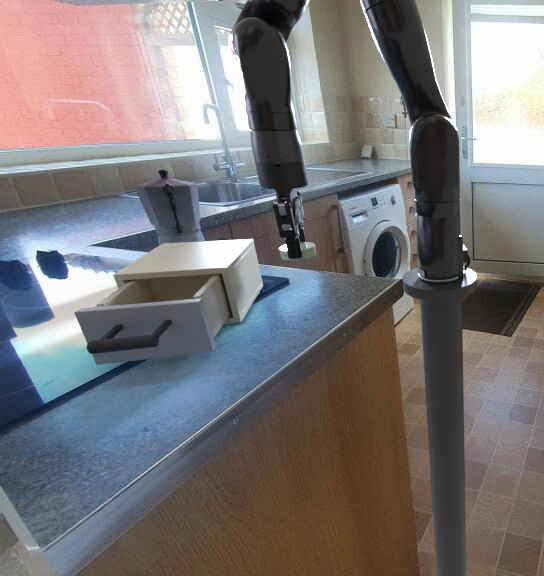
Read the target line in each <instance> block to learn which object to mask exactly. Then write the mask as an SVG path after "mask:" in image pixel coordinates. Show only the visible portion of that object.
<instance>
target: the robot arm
mask: <svg viewBox="0 0 544 576" xmlns="http://www.w3.org/2000/svg"><path fill="white" fill-rule="evenodd" d="M309 2H310V0H246V2H245V4H244V6H243V8H242V9H241V11H240V12H239V15H238V17H237V19H236V20H235V23H234V25H233V27H232V29H231V31H230V33H229V36H228V48H229V51H230V53H231V55H232V58H233V59H234V60H235V62H236V63H237V64H238V65H239V67H240V72H241V76H242V81H243V84H244V94H243V95H244V96H243V103H244V110H245V114H246V118H247V123H248V129H249V133H250V134H249V135H250V146H251V149H252V150H251V151H252V155H253V159H254V163H255V169H256V173H257V177H258V183H259V186H260V187H261V188H262V189H264V190H274V192H275V199H273V203H272V209H273V212H274V216H275V220H276V225H277V228H278V229H277V230H278V235H279V238H280V239H284V243H285V244H286V248H287V253H288V257H289V258H290V259H297V258H301V257H302V250H301V244H300V242H307V240H306V233H305V222H306V221H305V220H306V218H305V212H304V211H305V210H304V207H303V198H302V192H301V191H300V190H297V189H302V188H305V187H307V186H308V185H309V178H308V177H309V176H308V172H307V171H308V170H307V166H306V165H307V164H306V160H305V155H304V154H305V153H304V148H303V143H302V140H301V137H300V134H299V130H298V122H297V117H296V112H295V108H294V104H293V98H292V97H293V96H292V71H291V59H290V55H289V50H288V46H287V42H288V40H289V37H290V36H291V33H292V31H293V28H294V26H296V24H297V23H298V22H299V21H300V20H301V18H302V17H303V15H304V14H305V11H306V9H307V7H308V5H309ZM359 2H360V5H361V8H362V11H363V14H364V17H365V18H366V22H367V25H368V27H369V30H370V33H371V36H372V38H373V40H374V43H375V45H376V48H377V50H378V52H379V54H380V56H381V58H382V60H383V62H384V64H385V66H386V68H387V69H388V72H389V73H390V75H391V77H392V79H393V81H394V82H395V84H396V86H397V88H398V90H399V92H400V95H401V98H402V101H403V103H404V106H405V110H406V112H407V116H408V120H409V124H410V131H409V139H408V143H409V145H408V146H409V159H410V160H409V161H410V172H411V184H412V188H413V196H414V197H413V198H414V215H415V216H414V217H415V229H416V230H415V231H416V248H417V264H418V265H417V267H416V268H417V271H418V275H419V279H420V280H421V281H423V282H426V283H430V284H447V283H452V282H455V281H458V280H463V279H464V277H463V270H465V271H466V270H467V268H469V266H470V265H471V256H470V255H469V250H468V248H467V247H466V246H465V245H464V237H463V236H462V234H461V233H462V231H461V230H462V229H461V175H460V174H461V173H460V172H461V171H460V170H461V168H460V167H461V165H460V135H459V131H458V128H457V126H456V125H455V122H454V120H453V119H452V117H451V114H450V111H449V110H448V107H447V105H446V103H445V100H444V97H443V95H442V92H441V89H440V87H439V84H438V81H437V77H436V73H435V68H434V62H433V57H432V53H431V50H430V45H429V41H428V37H427V34H426V29H425V26H424V22H423V19H422V16H421V12H420V9H419V6H418V3H417V0H359ZM287 226H288V227H289V229H287ZM464 264H465V265H464ZM463 267H464V269H463Z"/></svg>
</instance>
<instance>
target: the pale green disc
mask: <svg viewBox="0 0 544 576" xmlns="http://www.w3.org/2000/svg"><path fill="white" fill-rule="evenodd" d="M300 244H301V250H302V257H301V258H297V259H290V258H289V257H288V253H287V248H286V243H285V244H283V245H281V246H280V247H279V248H278V252H279V257H280V259H282V260H283V261H288V262H289V261H292V262H293V261H303V260H307V259H311V258H313V257H315V256H317V248H316V247H317V246H316V244H315V243H314V242H311V241H306V242H300Z"/></svg>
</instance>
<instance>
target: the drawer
mask: <svg viewBox="0 0 544 576" xmlns="http://www.w3.org/2000/svg"><path fill="white" fill-rule="evenodd" d="M231 312H232V311H231V307H230V303H229V299H228V295H227V291H226V287H225V283H224V279H223V276H222V273H221V274H206V275H192V276H177V277H163V278H148V279H133V280H130V281H129V282H128V283H126V284H125V285H123V286H122V287H120V288H119V289H118V288H117V289H116V290H115V291H113V292H112V293H110V294H109V295H108V296H106V297H105V298H103V299H102V300H101V301H99V302H98V303H96V304H95V306H93V307H81V308H78V309H77V310H75V311H74V312H73V313H74V315H75V318H76V321H77V322H78V325H79V327H80V329H81V332H82V334H83V337H84V339H85V342H86V351H87V353H88V354H90V355H92V358H93V361H94V363H95V365H96V366H101V365H111V364H118V363H119V364H120V363H126V362H134V361H143V360H144V361H145V360H153V359H160V358H169V357H178V356H186V355H196V354H205V353H211V352H213V353H214V351H215V350H216V348H217V346H216V341H215V337H216V336H217V334H218V333H219V331H220V330H221V328H222V326H223V325H225V324H224V322H225V321H226V319H227V318H228V317H229V315H230V314H231Z"/></svg>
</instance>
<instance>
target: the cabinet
mask: <svg viewBox="0 0 544 576" xmlns="http://www.w3.org/2000/svg"><path fill="white" fill-rule="evenodd" d="M221 273H222V276H223V279H224V283H225V287H226V291H227V295H228V299H229V303H230V307H231V311H232V312H231V314H230V315H229V317H228V318H227V319H226V321H225V322H224V324H223V325H229V324H230V325H232V324H241V323H242V322H243V320H244V319H245V317H246V315H247V314H248V312H249V310H250V309H251V307H252V305H253V304H254V302H255V300H256V298H257V297H258V295H259V294H260V292H261V290H262V289H263V287H264V282H263V279H262V272H261V269H260V265H259V260H258V256H257V250H256V245H255V242H254V239H253V238H248V239H247V238H246V239H229V240H228V239H227V240H207V241H206V240H205V241H203V242H182V243H163V244H161V245H160V246H159V245H157V246H156V247H155V248H152V250H150V251H149V252H147V253H145V254H144V255H142V256H141V257H139V258H137V259H136V260H134V261H133V262H131V263H130V264H128V265H126V266H125V267H123V268H122V269H120V270H118V271H117V272H115V273H114V274H113V275H112V276H113V278H114V281H115V284H116V286H117V290H118V289H119V288H120V287H122V286H123V285H125V284H126V283H128V282H129V281H130V280H133V279H148V278H163V277H177V276H192V275H206V274H221Z"/></svg>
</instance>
